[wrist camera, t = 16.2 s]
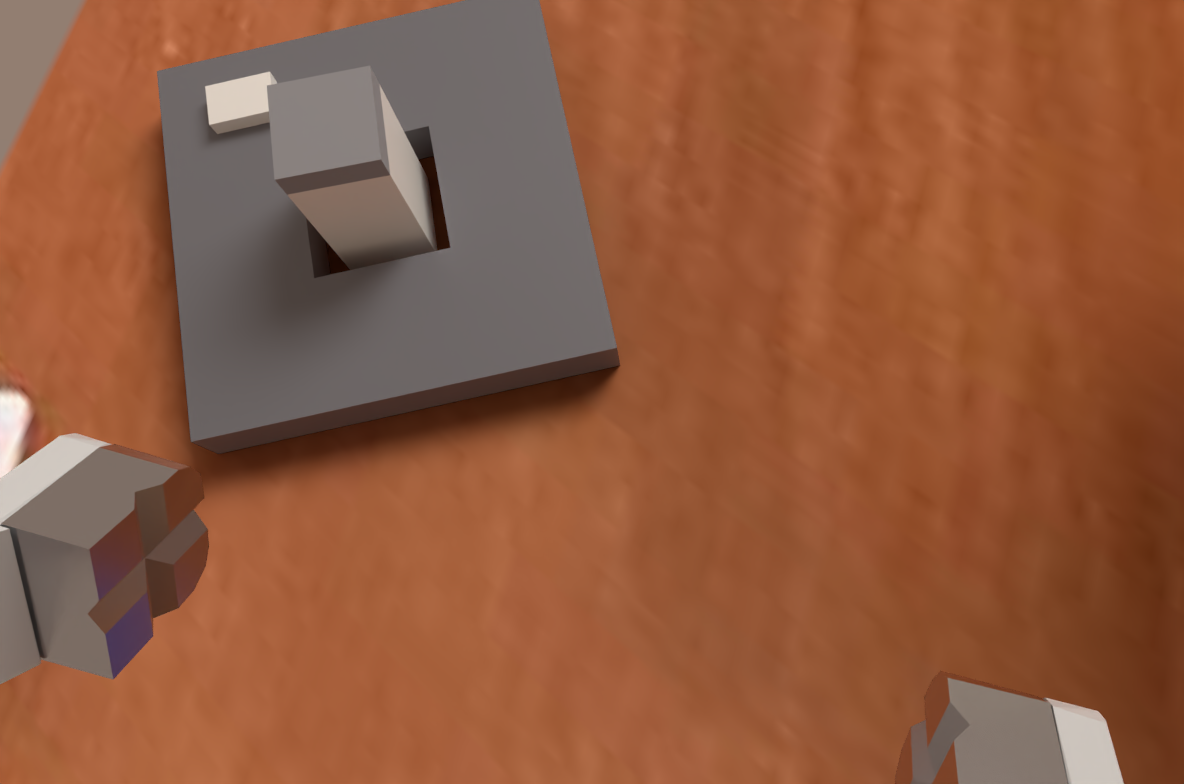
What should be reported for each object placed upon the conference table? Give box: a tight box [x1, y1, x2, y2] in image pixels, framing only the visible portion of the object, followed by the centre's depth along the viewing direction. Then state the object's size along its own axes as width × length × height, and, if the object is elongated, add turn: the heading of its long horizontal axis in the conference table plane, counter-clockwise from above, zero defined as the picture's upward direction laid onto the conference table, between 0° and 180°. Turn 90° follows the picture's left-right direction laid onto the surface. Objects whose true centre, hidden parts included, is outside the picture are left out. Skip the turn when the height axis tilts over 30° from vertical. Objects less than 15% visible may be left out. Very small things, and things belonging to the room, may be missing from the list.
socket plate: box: [157, 0, 620, 454], centre depth 43 cm, size 18×18×3 cm
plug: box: [267, 66, 438, 270], centre depth 40 cm, size 4×4×9 cm
